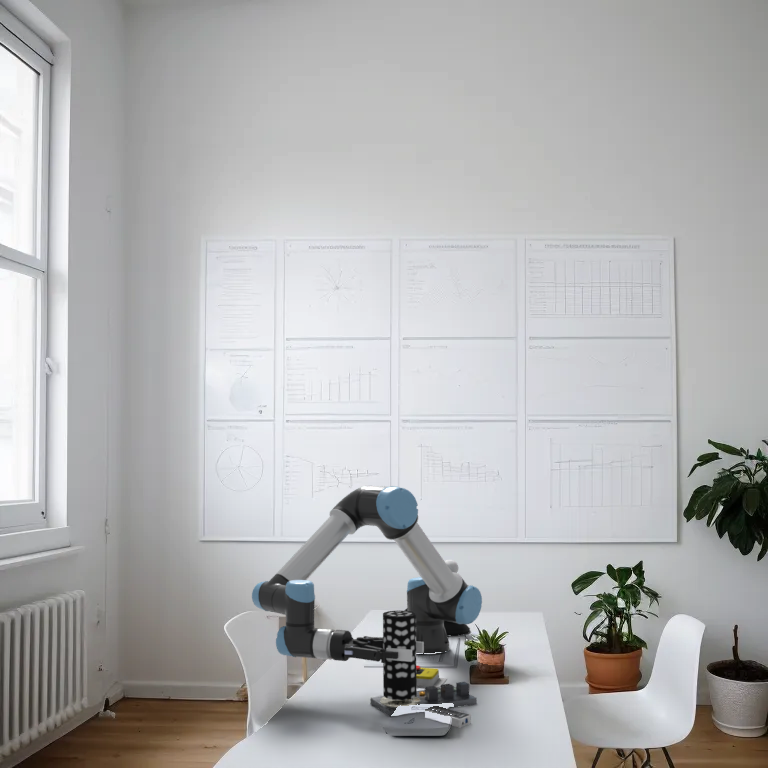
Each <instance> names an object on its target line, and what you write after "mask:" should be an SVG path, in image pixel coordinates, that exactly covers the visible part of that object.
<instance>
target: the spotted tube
mask: <svg viewBox="0 0 768 768" xmlns="http://www.w3.org/2000/svg"><path fill="white" fill-rule="evenodd" d="M382 637H383V648H384V649H385V651H386V648H397V649H409V650H412V662H408V661H396V660H386V658H385V663H382V665H383V666H382V668H383V669H382V670H383V671H382V672H383V673H382V675H383V676H382V677H383V681H382V683H383V686H382V687H383V695H382V696H384V697H385V698H388V699H392V700H408V699H412V698H415V697H416V696H417V691H418V688H417V687H418V686H417V675H416V665H417V654H416V613H415V612H412V611H404V610H390V611H389V610H388V611H385V612H382Z"/></svg>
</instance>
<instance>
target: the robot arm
mask: <svg viewBox="0 0 768 768" xmlns="http://www.w3.org/2000/svg"><path fill="white" fill-rule="evenodd" d="M418 514H419V509H418V501H417V500H416V497H415V495H414V494H413V492H411V491H410V490H408V489H406V488H404V487H400V486H395V485H390V486H385V485H384V486H383V485H381V486H379V485H365V486H360V487H358V488H356V489H353V491H351V492H350V493H348V494H346V495H345V496H344V497H343V498H342V499H341V500H340V501H339V502H338V503H336V505H334V507H332V508H331V510H330V511H329V517H328V518H327V519H326V520H325V521H324V522H323V524H322V525H320V527H318V528H317V530H315V532H314V533H313V534H312V535H311V536H310V537H309V538H308V539H307V541H306V542H304V544H303V545H302V546H301V547H300V548H299V549H298V550H297V551H296V552H295V553H294V554H293V556H292V557H291V558H290V559H288V560H287V562H285V564H284V565H282V567H280V569H279V570H278V571H277V572H276V574H274V576H272V578H270V579H269V581H268V580H267V581H266V580H265V581H261V582H259V583H257V584H255V586H254V587H253V589H252V591H251V599H252V602H253V605H254V606H255V607H257V608H258V609H260V610H262V611H265V612H272V613H275V614H281V615H284V616H285V625H283V626H281V627H280V628H279V629H278V631H277V633H276V639H275V647H276V650H277V652H278V653H279V654H280V655H283V656H289V657H292V658H307V659H309V658H310V659H318V660H320V659H321V661H322V662H326V660H330V661H332V660H334V661H338V662H339V661H341V662H347V661H348V660H349V659H351V658H352V659H357V660H365V661H371V662H372V661H373V662H381V664H383V663H385V658H386V660H396V661H408V662H412V650H409V649H397V648H386V651H385V649H384V648H383V636H382V637H381V636H379V637H378V636H367V635H363V637H361V636H359V637H356V638H355V639H354V637H353V635H352V633H351V631H349V630H343V629H333V628H316V627H315V599H316V595H315V584H314V582H313V581H312V580H308V579H309V578H311V576H312V575H313V574H314V572H316V571H317V569H318V568H319V567H320V566H321V565H322V564H323V563H324V562H325V561H326V559H328V558H329V556H330V555H331V554H333V552H334V551H335V550H336V549H337V547H338V546H339V545H340V544H341V543H342V542H343V541H344V540H345V539H346V538H347V536H348V535H354V534H355V533H356V532H357V531H358V530H359V529H360V528H362V527H365V526H372V527H377V528H378V529H379V530H380V532H381V533H382V534H383V536H384V537H385V538H386V539H387V540H389V541H390V540H391V541H394V542H395V543H396V545H397V546H398V548H399V549H400V551H401V552H402V553H403V554H404V556H405V557H406V558H407V560H408V562H409V563H410V564H411V565H412V567H413V568H414V570H415V571H416V572H417V574H418V575H419V576H418V577H413V578H410V579H408V581H407V590H406V601H407V602H406V603H407V604H406V605H407V606H406V609H407V611H412V612H415V613H416V653H423V654H424V653H435V652H445V651H448V650H449V649H450V641H449V638H448V637H449V636H447V634H446V631H445V628H444V620H445V621H450V622H454V623H458V624H466V625H470V624H472V623H474V622H475V621H476V620H477V619H478V617H479V615H480V613H481V610H482V607H483V606H482V603H483V598H482V593H481V591H480V589H479V588H478V587H477V586H474V585H472V584H471V585H469V584H467V582H466V581H465V580H464V579H463V577H462V575H460V574H459V573H458V572H457V573H455V572H452V571H451V570H450V568H449V567H448V566H447V564H446V563H445V561H446V560H444V559H443V557H442V556H441V555H440V552H439V551H438V550H437V549H436V547H435V546H434V544H433V543H432V541H431V540H430V539H429V537H428V536H427V535H426V533H425V531H423V529H422V528H421V526H420V524H419V523H418V521H419V515H418ZM449 651H450V650H449ZM449 651H448V652H449ZM445 653H446V652H445Z"/></svg>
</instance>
